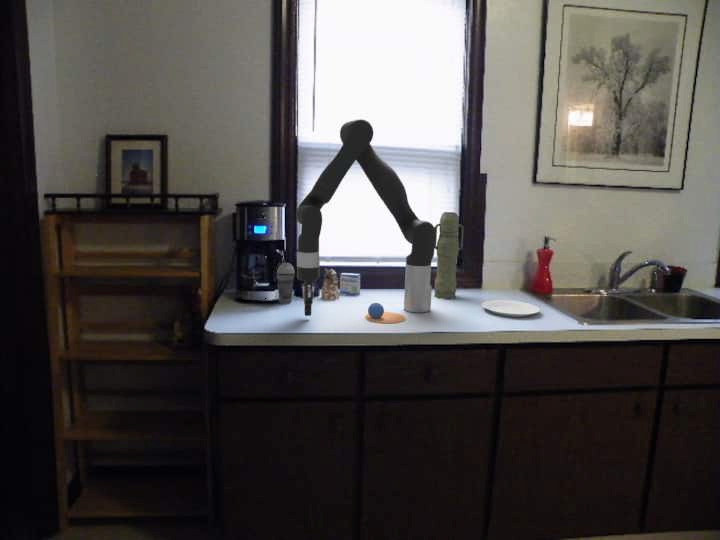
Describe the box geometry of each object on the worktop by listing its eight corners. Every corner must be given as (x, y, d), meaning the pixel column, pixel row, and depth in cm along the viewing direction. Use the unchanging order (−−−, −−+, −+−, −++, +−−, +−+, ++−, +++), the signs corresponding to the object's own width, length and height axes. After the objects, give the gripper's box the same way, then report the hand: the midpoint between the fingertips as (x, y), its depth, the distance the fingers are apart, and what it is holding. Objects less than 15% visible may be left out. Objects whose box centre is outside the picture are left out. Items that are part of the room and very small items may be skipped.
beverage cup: (291, 305, 190) (291, 252, 186) (272, 304, 191) (272, 251, 187) (297, 301, 197) (297, 250, 193) (279, 299, 198) (279, 249, 194)
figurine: (333, 301, 198) (333, 271, 196) (317, 298, 201) (318, 269, 199) (342, 297, 204) (343, 268, 202) (327, 295, 207) (328, 266, 205)
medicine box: (339, 294, 209) (339, 274, 208) (341, 292, 214) (342, 272, 212) (358, 296, 208) (358, 275, 207) (360, 293, 213) (360, 273, 211)
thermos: (428, 294, 215) (432, 211, 208) (455, 294, 216) (460, 212, 210) (433, 299, 206) (438, 213, 200) (461, 299, 207) (467, 213, 201)
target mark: (400, 312, 184) (400, 311, 184) (410, 323, 171) (410, 322, 171) (362, 312, 182) (362, 312, 182) (369, 324, 168) (369, 323, 168)
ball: (366, 301, 177) (367, 316, 178) (368, 305, 171) (369, 321, 172) (382, 300, 177) (382, 315, 178) (384, 304, 172) (385, 319, 173)
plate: (471, 311, 189) (471, 306, 189) (498, 302, 204) (498, 297, 204) (523, 323, 175) (524, 317, 175) (548, 313, 190) (549, 307, 190)
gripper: (321, 268, 163) (320, 320, 166) (317, 261, 175) (317, 310, 179) (298, 268, 161) (297, 320, 164) (296, 261, 174) (295, 310, 177)
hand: (307, 315), depth 171 cm, fingers closed
